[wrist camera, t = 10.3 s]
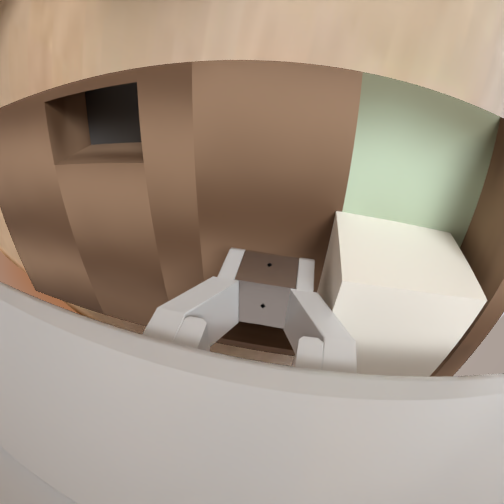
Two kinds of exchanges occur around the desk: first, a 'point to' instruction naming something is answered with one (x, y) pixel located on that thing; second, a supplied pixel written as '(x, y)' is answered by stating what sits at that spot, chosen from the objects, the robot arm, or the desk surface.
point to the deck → (240, 180)
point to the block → (398, 293)
